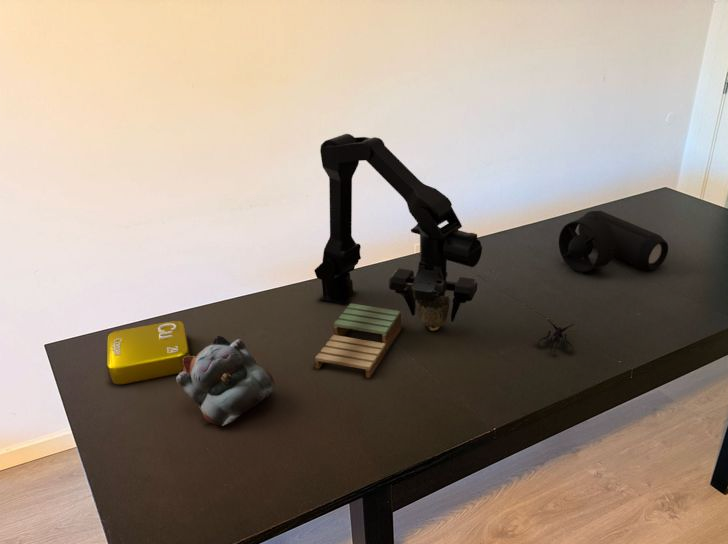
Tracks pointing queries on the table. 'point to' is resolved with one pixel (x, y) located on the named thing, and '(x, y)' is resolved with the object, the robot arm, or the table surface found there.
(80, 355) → the table surface
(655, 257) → the portable speaker
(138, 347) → the element tile
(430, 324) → the ornate brown dome cover
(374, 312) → the rack
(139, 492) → the table surface
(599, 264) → the black round hollow piece
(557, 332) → the creature
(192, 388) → the lucky cat figurine
